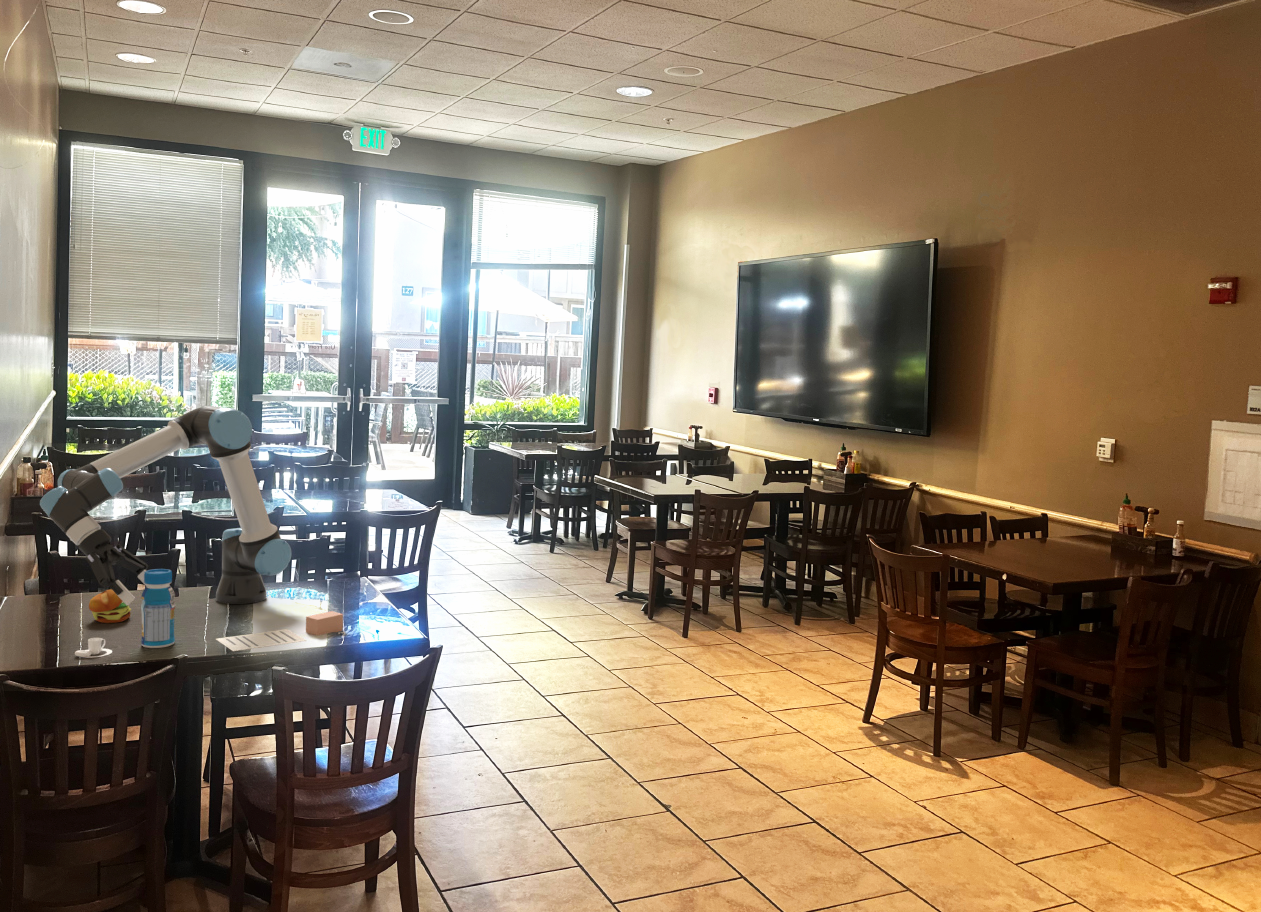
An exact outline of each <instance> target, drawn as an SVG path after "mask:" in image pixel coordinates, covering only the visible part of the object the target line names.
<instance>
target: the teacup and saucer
mask: <svg viewBox="0 0 1261 912" xmlns="http://www.w3.org/2000/svg"><path fill="white" fill-rule="evenodd" d="M102 641H103V644H102ZM106 642H107V641H106V639H104V638H102V637H91V638H89V639H87V644H88V645H87V647H88V649H84V650H83V649H82V650H81V649H80V650H76V651H75V652H74V655H75V656H76V657H80V658H88V659H89V658H90V659H91V658H101V657H105V656H108V655H111V654H113V650H112V649H109V648H104V647H105V646H106ZM101 651H104V652H106V653H104V654H101ZM99 654H101V655H99ZM91 655H92V656H91Z"/></svg>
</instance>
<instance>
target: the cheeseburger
mask: <svg viewBox="0 0 1261 912" xmlns="http://www.w3.org/2000/svg"><path fill="white" fill-rule="evenodd" d="M88 609H89V610H90V612H91V614H92V616H93V619H94V620H95V621H97V622H99V623H103V624H104V623H105V624H115V623H121V622H124V621H126V620H127V619H129V618H130V617H131V611H132V608H131V607H130V604H129V605H126V604H125V603H124V602H123V601H122V600H121V599H120V598H119V597H118V596H117V595H116V593H115V592H114V591H113V590H112V589H111V588H110V589H105V590H104V591H102V592H100V593H98V594H96V595H95V596H93V597H92V598H91V599H90V600H89V603H88Z"/></svg>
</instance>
